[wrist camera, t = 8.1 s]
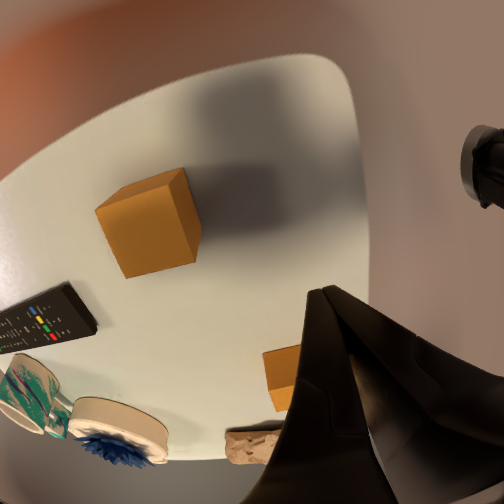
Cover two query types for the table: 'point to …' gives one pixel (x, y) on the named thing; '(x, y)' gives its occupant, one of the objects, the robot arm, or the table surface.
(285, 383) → the ochre block middle
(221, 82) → the table surface
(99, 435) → the box with blue lotus
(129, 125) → the table surface
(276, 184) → the table surface
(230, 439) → the stone
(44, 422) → the mug
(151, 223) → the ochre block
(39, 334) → the remote control
